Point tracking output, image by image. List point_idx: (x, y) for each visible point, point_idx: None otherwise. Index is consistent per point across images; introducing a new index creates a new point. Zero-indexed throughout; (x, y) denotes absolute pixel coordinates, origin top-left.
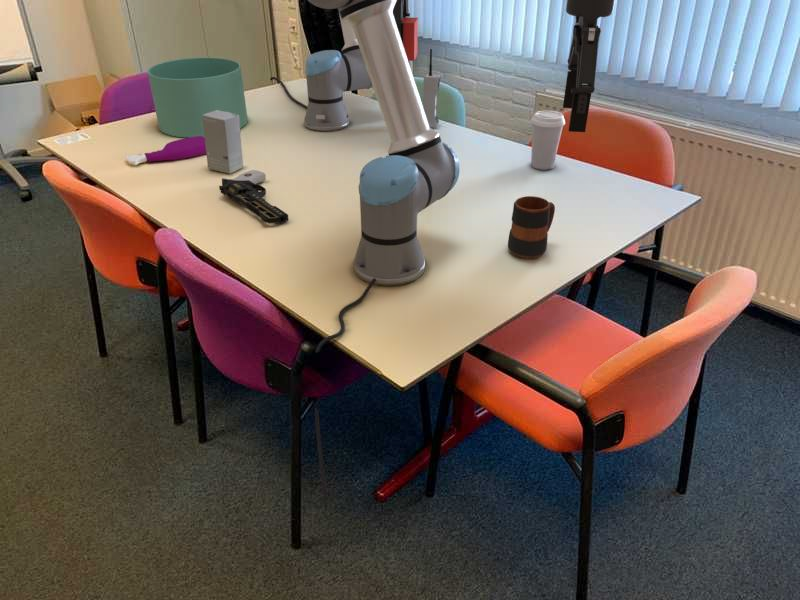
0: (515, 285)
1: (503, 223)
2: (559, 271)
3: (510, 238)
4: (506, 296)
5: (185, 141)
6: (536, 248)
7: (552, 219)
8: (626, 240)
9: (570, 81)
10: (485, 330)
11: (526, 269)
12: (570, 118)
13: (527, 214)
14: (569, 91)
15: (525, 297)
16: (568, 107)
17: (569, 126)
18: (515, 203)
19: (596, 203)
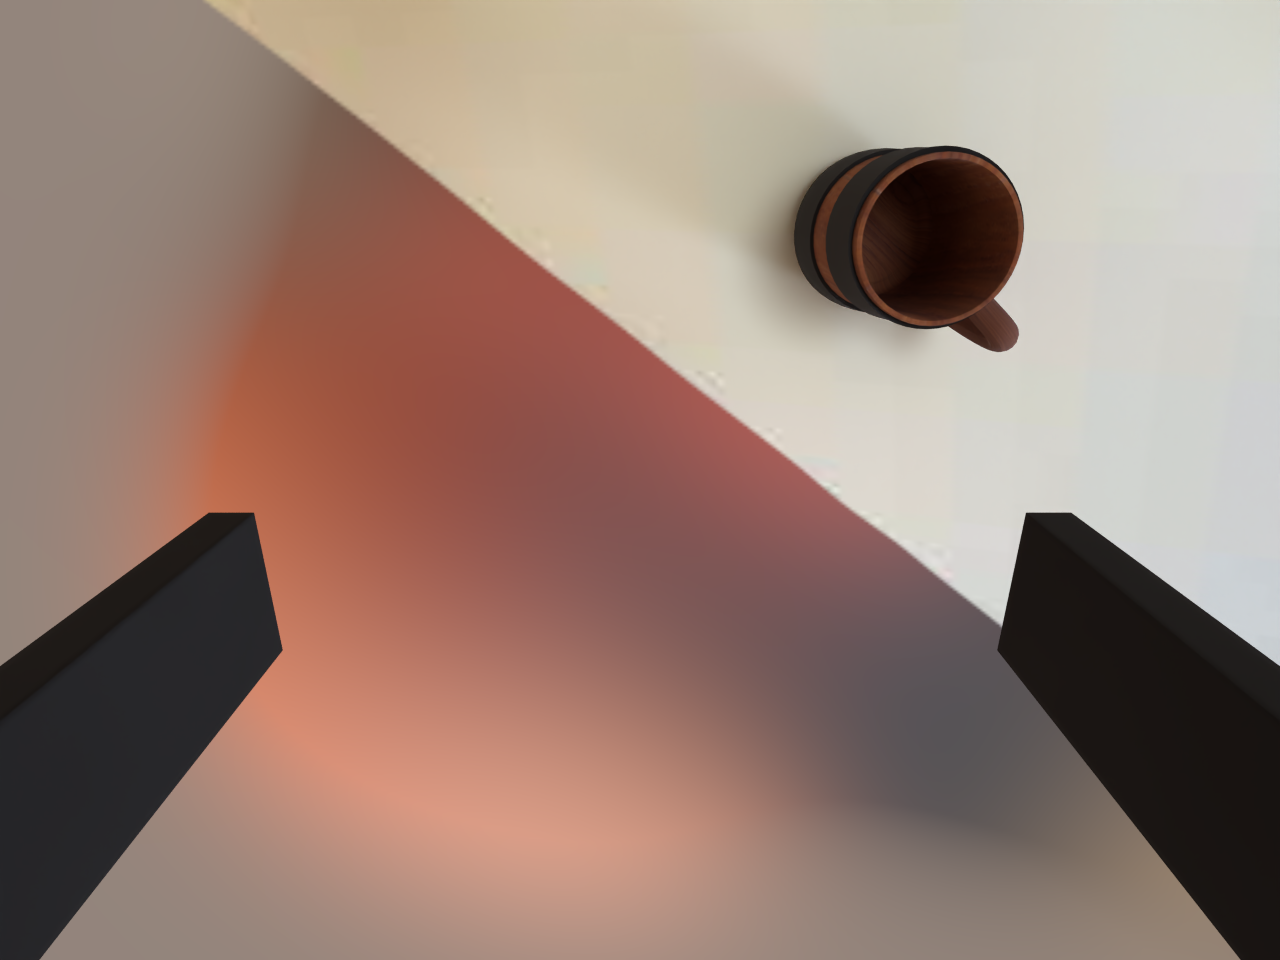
0: (608, 183)
1: (1113, 133)
2: (723, 345)
3: (862, 154)
4: (529, 148)
5: None
6: (804, 265)
7: (967, 338)
8: (948, 576)
9: (1238, 751)
10: (301, 71)
11: (726, 227)
12: (152, 574)
13: (850, 217)
14: (1133, 658)
15: (535, 218)
16: (1016, 567)
17: (187, 534)
18: (936, 153)
19: (1251, 517)
